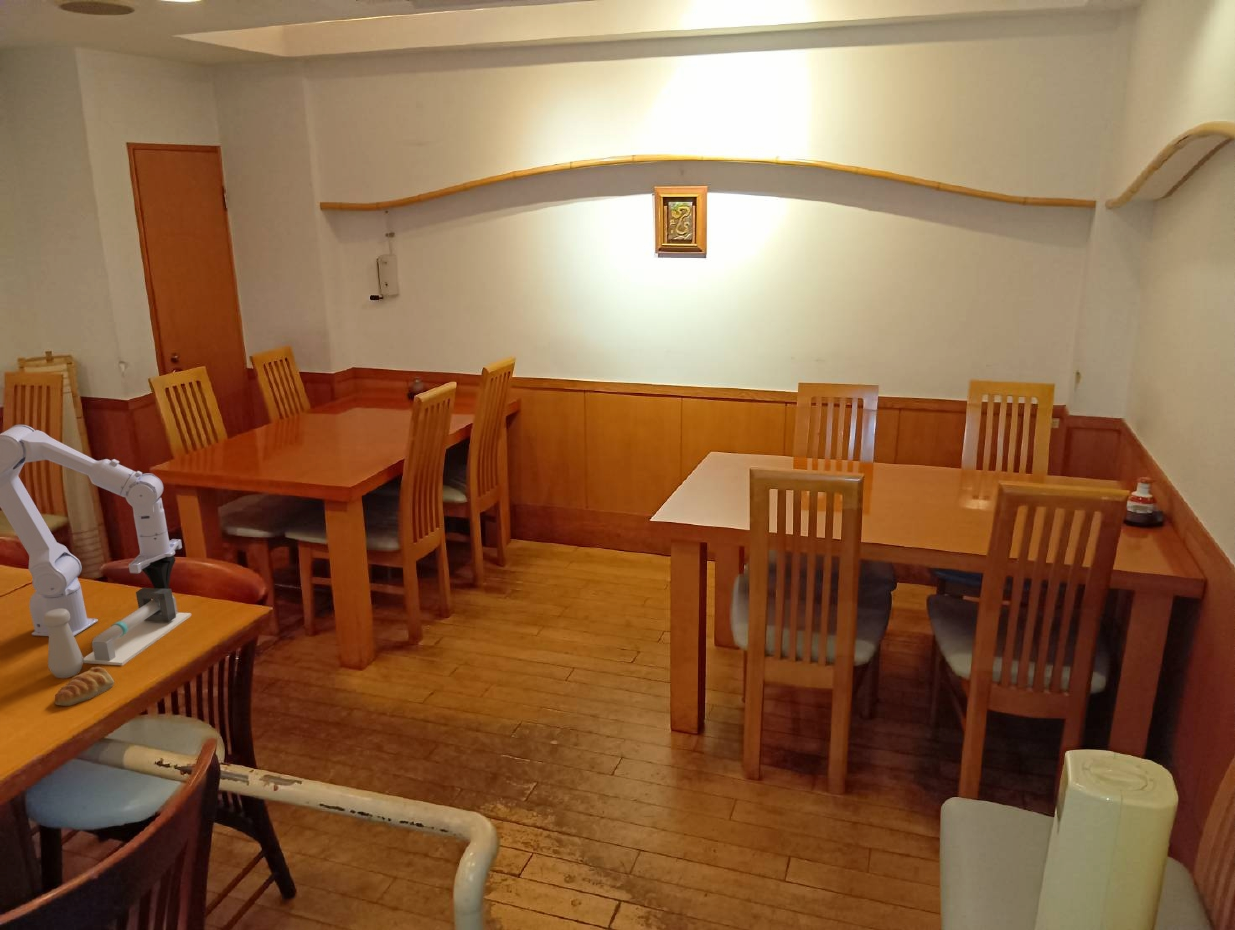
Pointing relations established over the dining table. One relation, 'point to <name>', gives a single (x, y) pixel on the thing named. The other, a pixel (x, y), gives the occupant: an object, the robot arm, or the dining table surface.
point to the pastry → (84, 687)
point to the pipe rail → (131, 635)
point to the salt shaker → (62, 645)
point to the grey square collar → (165, 600)
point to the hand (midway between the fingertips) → (162, 591)
